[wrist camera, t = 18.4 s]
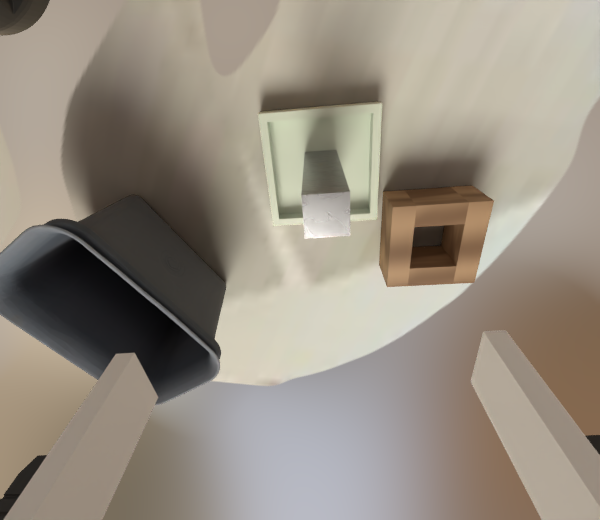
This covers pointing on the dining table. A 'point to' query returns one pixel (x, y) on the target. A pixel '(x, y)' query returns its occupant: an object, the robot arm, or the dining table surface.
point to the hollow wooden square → (455, 241)
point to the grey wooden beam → (325, 196)
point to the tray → (317, 137)
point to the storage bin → (117, 295)
